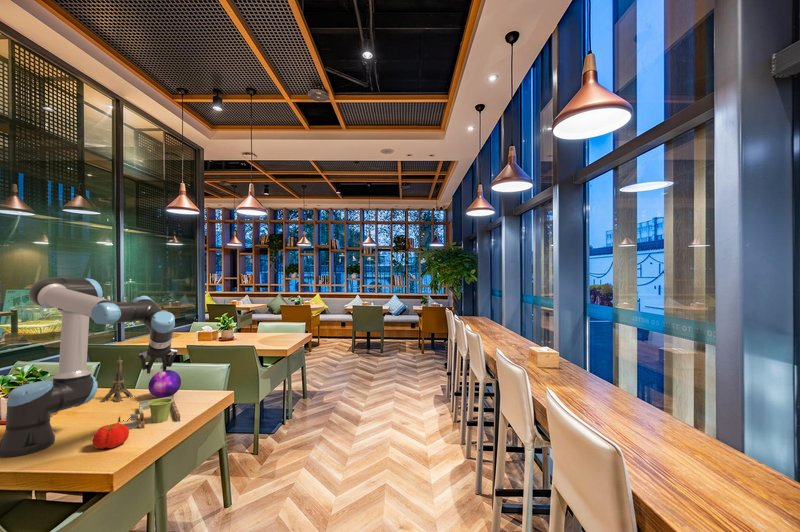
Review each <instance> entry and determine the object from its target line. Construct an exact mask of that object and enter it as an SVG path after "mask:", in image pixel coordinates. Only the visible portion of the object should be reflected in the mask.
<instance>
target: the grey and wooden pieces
mask: <svg viewBox="0 0 800 532" xmlns="http://www.w3.org/2000/svg"><path fill="white" fill-rule="evenodd" d="M174 397H175V396H174V395H172V396H171V397H165V398H171V399H173V401H172V403H171V406H170V408H171V409H172V412H173V415H174V417H176V418H175V421H176V422H180V421H181V413H180V412H179V409H178V406H177V405H176V401H175V400H174V399H175V398H174ZM156 399H157V398H153V399H146V400H140V401H138V412H139V413H140V414H139V413H133V414H130V415H131V417H130V418H131V419H130V418H129V419H130V420H131V421H132V422H129V421H128V420H129V419H128V420H127V421H126V422H127V423H121V424H122V425H125V426H127V427H128V428H129V430H132V428H134V429H138V428H137V427H139V428H140V429H141V428H142V429H145V420H144V417H145V415H144V412H143V409H144V410H149V408H150V406H149V404H148V403H149V402H150V401H153V400H156ZM158 399H162V398H158ZM134 419H137V420H138V421H135V420H134ZM123 421H124V420H123ZM139 422H140V423H139Z"/></svg>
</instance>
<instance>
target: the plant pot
mask: <svg viewBox="0 0 800 532" xmlns="http://www.w3.org/2000/svg"><path fill="white" fill-rule="evenodd" d="M155 399H156V400H153V401H150V402H149V403H148V404H149V406H150V410H149V411H150V418H151V422H152V423H154V424H157V423H158V422H159V423H160V422H162V423H163V421H164V422H166V421H168V420H167V419H169V414H170V410H171V403H172V401H173V399H171V398H162V399H159V398H155Z"/></svg>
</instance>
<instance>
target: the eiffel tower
mask: <svg viewBox="0 0 800 532" xmlns="http://www.w3.org/2000/svg"><path fill="white" fill-rule="evenodd" d="M123 362H124V361H123V359H121V357H119V359H118V360H116V363H117V365H116V371H115V375H114V379H113V380H112V382H111V383H112V386H111V388H110V389H109V391H108V393H107V394H106V395H105V396H104V397H103V398H102V399H101V400H100V401H99V403H106V402H109V401H110V398H111V397H112V398H115V400H114V403H121V402H124V400H123V398H122V395H121V394H122V393H123V394H124V395H125V398H126V397H127V398H126V399H129V397H130V399H132V398H134V397H133V396H134V395H133V394H132V393H131V391H129V390H128V389H127V387H126V385H125V379H124V375H123V365H122V364H123ZM131 397H132V398H131ZM108 400H109V401H108ZM105 401H106V402H105ZM120 401H121V402H120Z"/></svg>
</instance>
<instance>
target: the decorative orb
mask: <svg viewBox="0 0 800 532" xmlns="http://www.w3.org/2000/svg"><path fill="white" fill-rule="evenodd" d="M181 385H182V378H181V376H180V374H179V373H178V372H177V371H174V370H171V369H166V371H165V372H163V373H162V378H160V371H158V372H156V373H155V374H153V375H152V379H149V381H148V386H147V387H148V391H149V394H151V396H153V397H154V398H155V399H159V398H165V397H171V396H174V395H175V394H176V393H177V392H179V390H180V388H181Z"/></svg>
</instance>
